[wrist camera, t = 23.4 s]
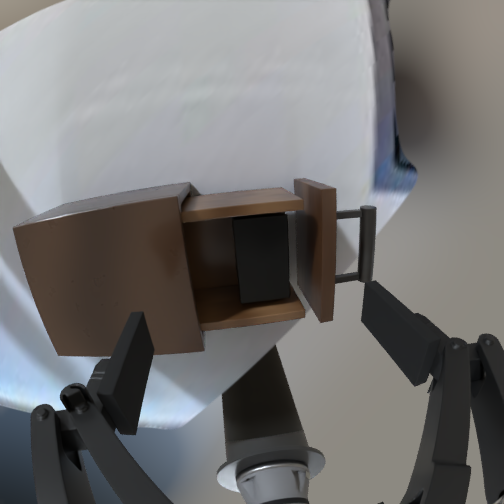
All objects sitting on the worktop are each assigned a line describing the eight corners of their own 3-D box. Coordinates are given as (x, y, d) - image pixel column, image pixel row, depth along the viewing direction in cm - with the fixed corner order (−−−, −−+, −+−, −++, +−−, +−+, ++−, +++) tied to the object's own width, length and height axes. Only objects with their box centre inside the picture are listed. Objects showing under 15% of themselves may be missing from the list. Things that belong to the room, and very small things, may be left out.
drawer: (350, 176, 28) (391, 186, 21) (348, 277, 32) (381, 310, 25) (166, 192, 26) (148, 207, 19) (184, 298, 30) (177, 341, 23)
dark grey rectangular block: (274, 202, 27) (287, 214, 22) (277, 273, 29) (289, 297, 24) (229, 207, 27) (232, 220, 22) (236, 278, 29) (240, 304, 24)
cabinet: (190, 181, 27) (177, 195, 18) (206, 297, 32) (204, 351, 23) (62, 204, 26) (12, 227, 17) (89, 307, 30) (58, 356, 21)
